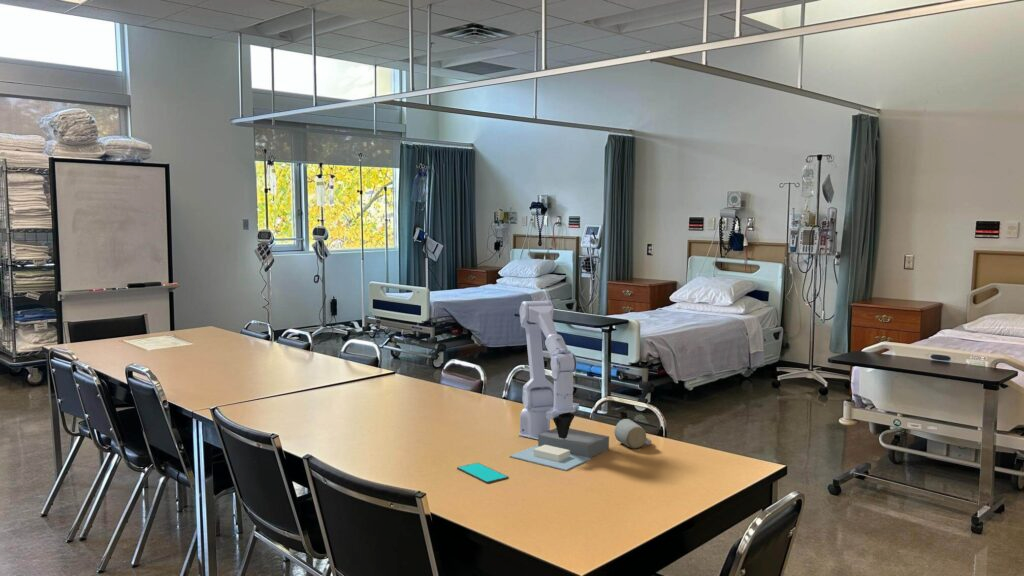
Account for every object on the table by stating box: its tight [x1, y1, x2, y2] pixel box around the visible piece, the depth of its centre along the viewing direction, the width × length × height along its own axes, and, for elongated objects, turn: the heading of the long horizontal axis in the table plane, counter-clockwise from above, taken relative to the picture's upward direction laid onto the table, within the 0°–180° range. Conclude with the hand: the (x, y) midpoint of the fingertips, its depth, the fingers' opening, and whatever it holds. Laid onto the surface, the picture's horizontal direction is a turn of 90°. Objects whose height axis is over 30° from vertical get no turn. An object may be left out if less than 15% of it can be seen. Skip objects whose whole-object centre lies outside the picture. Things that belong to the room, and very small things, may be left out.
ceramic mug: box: [614, 418, 652, 449], centre depth 232 cm, size 11×8×8 cm
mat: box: [509, 445, 592, 472], centre depth 219 cm, size 20×13×1 cm, turn 52°
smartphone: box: [456, 462, 510, 485], centre depth 205 cm, size 7×1×15 cm
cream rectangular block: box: [533, 445, 570, 462], centre depth 219 cm, size 9×6×2 cm, turn 52°
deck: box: [537, 427, 610, 459], centre depth 228 cm, size 18×12×4 cm, turn 52°
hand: (562, 437), depth 224 cm, fingers closed
